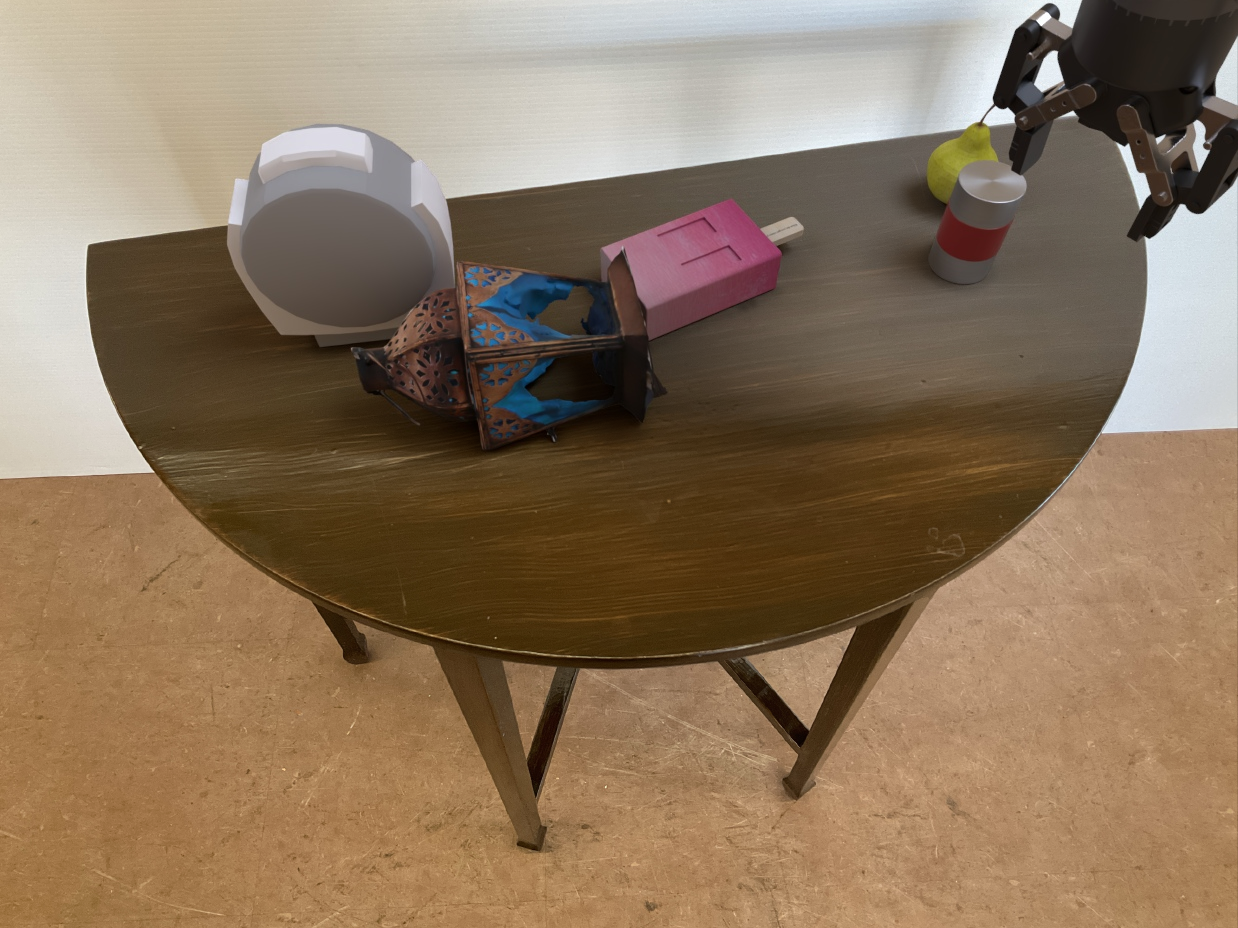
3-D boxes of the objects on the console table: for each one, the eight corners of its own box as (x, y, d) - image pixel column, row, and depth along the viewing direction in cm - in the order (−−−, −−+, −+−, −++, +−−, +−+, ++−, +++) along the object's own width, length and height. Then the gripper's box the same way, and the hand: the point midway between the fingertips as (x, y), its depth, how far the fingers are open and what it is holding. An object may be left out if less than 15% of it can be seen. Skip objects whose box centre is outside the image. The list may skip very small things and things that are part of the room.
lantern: (640, 408, 84) (383, 446, 81) (622, 240, 80) (350, 272, 77) (681, 445, 69) (365, 494, 65) (661, 239, 65) (322, 279, 61)
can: (1002, 266, 86) (1041, 184, 77) (962, 294, 84) (998, 212, 75) (955, 234, 88) (987, 151, 80) (914, 260, 86) (944, 177, 78)
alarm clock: (466, 280, 86) (424, 97, 69) (469, 343, 81) (425, 162, 65) (285, 300, 85) (198, 119, 68) (278, 365, 80) (182, 188, 63)
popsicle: (829, 233, 82) (646, 308, 77) (820, 271, 86) (645, 343, 81) (775, 179, 86) (599, 246, 81) (769, 217, 90) (601, 283, 85)
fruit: (932, 225, 89) (969, 123, 79) (908, 183, 93) (940, 81, 83) (994, 215, 90) (1039, 113, 80) (968, 174, 94) (1007, 72, 84)
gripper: (1382, -26, 38) (1221, 219, 53) (1101, -131, 45) (1025, 114, 59) (1278, 70, 37) (1142, 293, 52) (1004, -52, 43) (951, 178, 58)
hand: (1080, 197), depth 55 cm, fingers open, 8 cm apart
